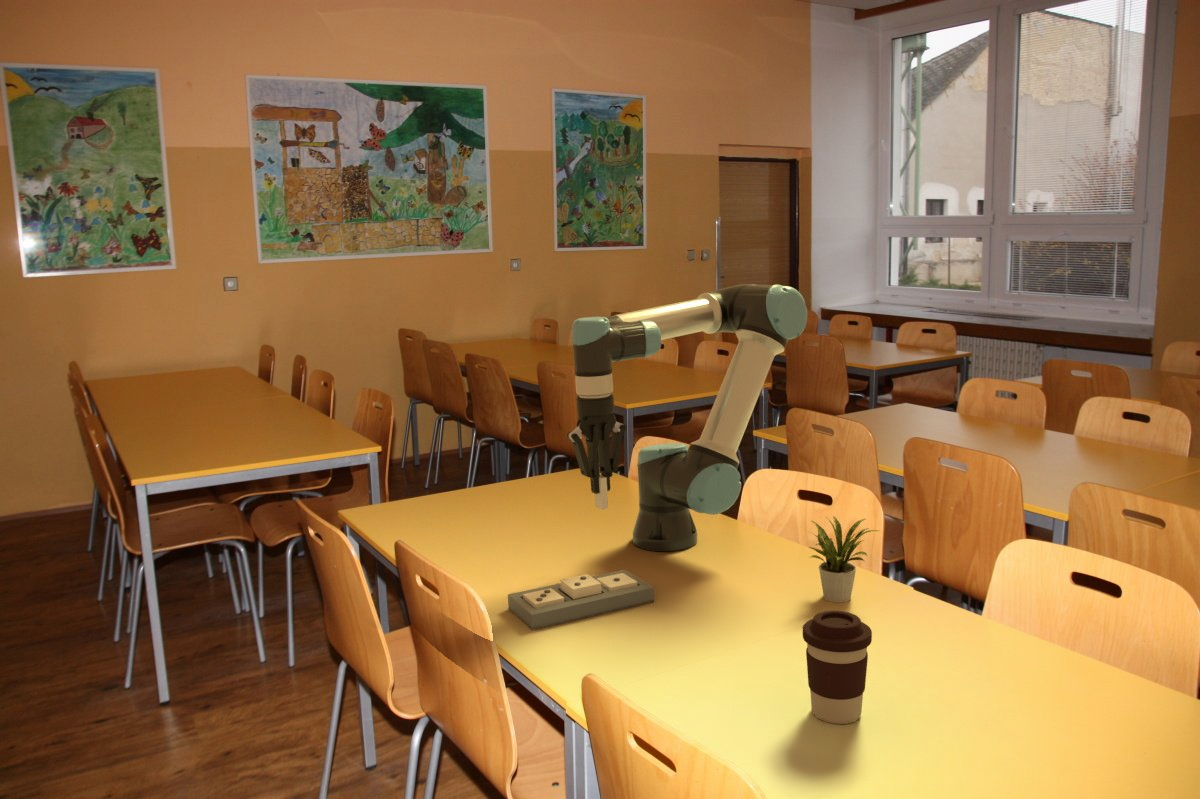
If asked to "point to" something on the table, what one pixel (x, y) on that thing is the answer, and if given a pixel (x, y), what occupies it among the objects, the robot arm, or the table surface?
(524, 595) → the key three
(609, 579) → the key one
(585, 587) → the key two
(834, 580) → the house plant
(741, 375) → the robot arm
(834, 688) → the coffee cup
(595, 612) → the keypad
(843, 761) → the table surface
